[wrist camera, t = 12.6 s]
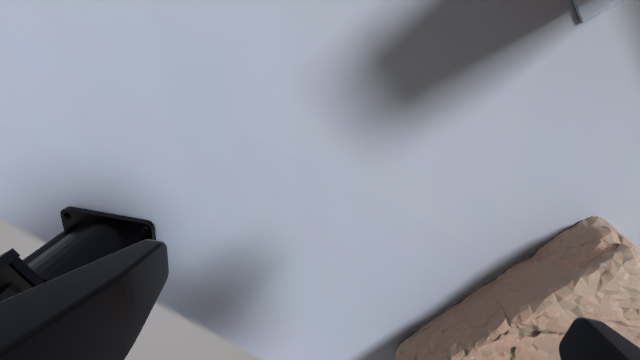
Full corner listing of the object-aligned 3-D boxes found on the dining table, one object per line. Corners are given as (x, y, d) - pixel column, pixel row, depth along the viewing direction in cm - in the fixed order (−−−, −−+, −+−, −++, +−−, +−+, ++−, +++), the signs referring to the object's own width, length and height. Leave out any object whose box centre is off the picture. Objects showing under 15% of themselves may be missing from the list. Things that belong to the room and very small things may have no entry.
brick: (589, 205, 20) (648, 255, 16) (671, 285, 22) (744, 350, 17) (387, 340, 27) (391, 401, 22) (461, 394, 28) (478, 460, 24)
